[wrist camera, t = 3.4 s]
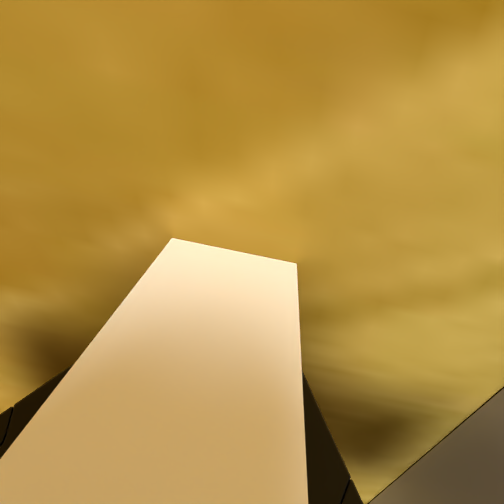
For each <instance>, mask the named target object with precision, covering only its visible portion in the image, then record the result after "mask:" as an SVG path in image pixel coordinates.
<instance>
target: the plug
mask: <svg viewBox="0 0 504 504" xmlns="http://www.w3.org/2000/svg"><path fill="white" fill-rule="evenodd" d="M0 504H308V489H307V468H306V447H305V427H304V406H303V385H302V364H301V344H300V323H299V302H298V281H297V264H296V263H291V262H286V261H281V260H277V259H272V258H267V257H262V256H257V255H252V254H247V253H243V252H238V251H233V250H228V249H223V248H218V247H213V246H209V245H204V244H199V243H194V242H189V241H184V240H179V239H175V238H172V239H171V240H170V241H169V243H168V244H167V245H166V247H165V248H164V249H163V250H162V252H161V253H160V254H159V256H158V257H157V258H156V259H155V261H154V262H153V263H152V265H151V266H150V267H149V268H148V270H147V271H146V272H145V274H144V275H143V276H142V277H141V279H140V280H139V281H138V283H137V284H136V285H135V286H134V288H133V289H132V290H131V292H130V293H129V294H128V295H127V297H126V298H125V299H124V301H123V302H122V303H121V304H120V306H119V307H118V308H117V310H116V311H115V312H114V313H113V315H112V316H111V317H110V319H109V320H108V321H107V322H106V324H105V325H104V326H103V328H102V329H101V330H100V331H99V333H98V334H97V335H96V337H95V338H94V339H93V340H92V342H91V343H90V344H89V346H88V347H87V348H86V350H85V351H84V352H83V353H82V355H81V356H80V357H79V359H78V360H77V361H76V362H75V364H74V365H73V366H72V368H71V369H70V370H69V371H68V373H67V374H66V375H65V377H64V378H63V379H62V380H61V382H60V383H59V384H58V386H57V387H56V388H55V389H54V391H53V392H52V393H51V395H50V396H49V397H48V398H47V400H46V401H45V402H44V404H43V405H42V406H41V407H40V409H39V410H38V411H37V413H36V414H35V415H34V416H33V418H32V419H31V420H30V422H29V423H28V424H27V425H26V427H25V428H24V429H23V431H22V432H21V433H20V434H19V436H18V437H17V438H16V440H15V441H14V442H13V443H12V445H11V446H10V447H9V449H8V450H7V451H6V452H5V454H4V455H3V456H2V458H1V459H0Z"/></svg>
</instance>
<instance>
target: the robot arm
mask: <svg viewBox="0 0 504 504" xmlns="http://www.w3.org/2000/svg"><path fill="white" fill-rule="evenodd" d="M74 364H75V363H74ZM74 364H72V365H71V366H69V367H68V368H66V369H65V370H64V371H62V372H61V373H59V374H58V375H56V376H55V377H53V378H52V379H51V380H49V381H48V382H46V383H45V384H43V385H42V386H40V387H39V388H38V389H36V390H35V391H33V392H32V393H30V394H29V395H27V396H26V397H25V398H23V399H22V400H20V401H19V402H17V403H16V404H15V405H14V407H10V408H9V409H7V410H6V411H4V412H3V413H1V414H0V459H1V458H2V456H3V455H4V454H5V452H6V451H7V450H8V449H9V447H10V446H11V445H12V443H13V442H14V441H15V440H16V438H17V437H18V436H19V434H20V433H21V432H22V431H23V429H24V428H25V427H26V425H27V424H28V423H29V422H30V420H31V419H32V418H33V416H34V415H35V414H36V413H37V411H38V410H39V409H40V407H41V406H42V405H43V404H44V402H45V401H46V400H47V398H48V397H49V396H50V395H51V393H52V392H53V391H54V389H55V388H56V387H57V386H58V384H59V383H60V382H61V380H62V379H63V378H64V377H65V375H66V374H67V373H68V371H69V370H70V369H71V368H72V366H73V365H74ZM302 385H303V406H304V427H305V447H306V468H307V489H308V504H363V502H362V500H361V498H360V496H359V493H358V491H357V489H356V487H355V485H354V482H353V481H352V480H350V474H349V472H348V470H347V467H346V465H345V463H344V461H343V459H342V456H341V454H340V452H339V450H338V448H337V446H336V443H335V441H334V439H333V437H332V435H331V432H330V430H329V428H328V426H327V424H326V421H325V419H324V417H323V415H322V413H321V411H320V408H319V406H318V404H317V402H316V400H315V397H314V395H313V393H312V391H311V389H310V387H309V384H308V382H307V380H306V378H305V376H304V373H303V371H302Z"/></svg>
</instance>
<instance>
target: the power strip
mask: <svg viewBox="0 0 504 504" xmlns="http://www.w3.org/2000/svg"><path fill="white" fill-rule="evenodd" d="M369 504H504V388H503V389H502V390H501V391H500V392H499V393H497V394H496V395H495V396H494V397H493V398H492V399H490V400H489V401H488V402H487V403H486V404H485V405H483V406H482V407H481V408H480V409H479V410H478V411H476V412H475V413H474V414H473V415H472V416H471V417H469V418H468V419H467V420H466V421H465V422H464V423H462V424H461V425H460V426H459V427H458V428H457V429H455V430H454V431H453V432H452V433H451V434H450V435H448V436H447V437H446V438H445V439H444V440H442V441H441V442H440V443H439V444H438V445H437V446H435V447H434V448H433V449H432V450H431V451H430V452H428V453H427V454H426V455H425V456H424V457H423V458H421V459H420V460H419V461H418V462H417V463H416V464H414V465H413V466H412V467H411V468H410V469H409V470H407V471H406V472H405V473H404V474H403V475H402V476H400V477H399V478H398V479H397V480H396V481H395V482H393V483H392V484H391V485H390V486H389V487H387V488H386V489H385V490H384V491H383V492H382V493H380V494H379V495H378V496H377V497H376V498H375V499H373V500H372V501H371V502H370V503H369Z"/></svg>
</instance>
